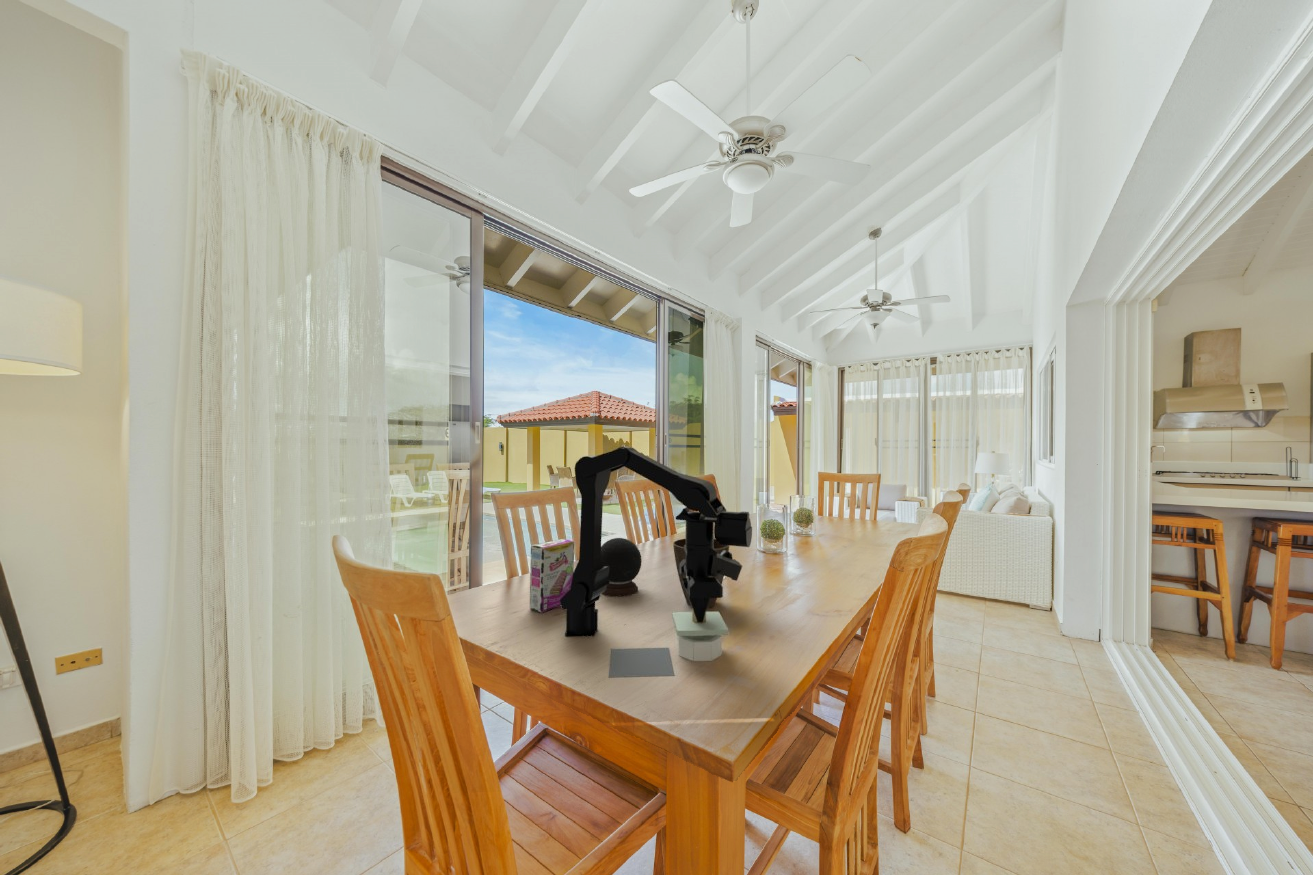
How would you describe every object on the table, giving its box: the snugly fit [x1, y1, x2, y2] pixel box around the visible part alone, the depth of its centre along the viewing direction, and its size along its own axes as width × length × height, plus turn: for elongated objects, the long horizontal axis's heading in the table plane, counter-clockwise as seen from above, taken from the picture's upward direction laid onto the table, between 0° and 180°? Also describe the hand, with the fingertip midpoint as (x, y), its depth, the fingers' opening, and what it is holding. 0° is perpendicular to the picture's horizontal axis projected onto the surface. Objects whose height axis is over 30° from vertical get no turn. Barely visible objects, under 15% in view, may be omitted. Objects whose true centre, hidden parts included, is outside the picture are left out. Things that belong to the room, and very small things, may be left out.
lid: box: [671, 607, 729, 637], centre depth 100 cm, size 10×10×4 cm
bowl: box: [676, 635, 723, 662], centre depth 100 cm, size 9×9×4 cm
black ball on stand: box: [601, 537, 642, 598], centre depth 141 cm, size 13×13×15 cm
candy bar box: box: [529, 538, 575, 614], centre depth 128 cm, size 11×5×16 cm, turn 144°
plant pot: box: [672, 538, 730, 608], centre depth 130 cm, size 15×15×16 cm
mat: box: [608, 647, 676, 679], centre depth 95 cm, size 12×12×1 cm
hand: (698, 619), depth 100 cm, fingers closed on lid, 3 cm apart
